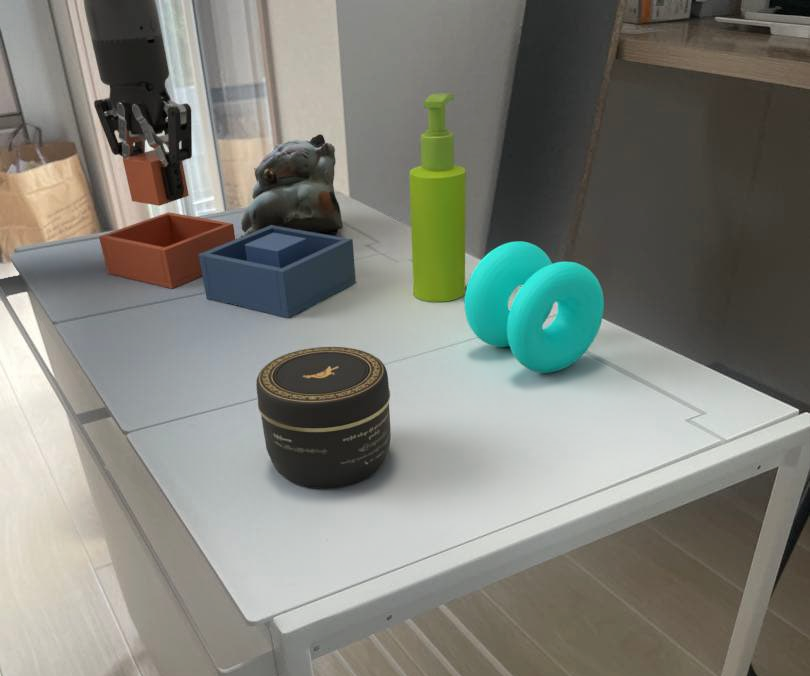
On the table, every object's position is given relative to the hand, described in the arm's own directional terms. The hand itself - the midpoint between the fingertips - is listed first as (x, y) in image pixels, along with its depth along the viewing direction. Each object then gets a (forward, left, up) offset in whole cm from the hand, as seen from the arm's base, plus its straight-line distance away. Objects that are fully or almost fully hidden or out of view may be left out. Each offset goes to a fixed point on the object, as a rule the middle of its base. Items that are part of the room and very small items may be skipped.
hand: (159, 195), depth 101 cm
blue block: (+18, 0, -8) cm, 20 cm away
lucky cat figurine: (+5, +17, -9) cm, 20 cm away
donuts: (+51, -3, -9) cm, 52 cm away
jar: (+46, -28, -9) cm, 55 cm away
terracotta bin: (0, 0, -9) cm, 9 cm away
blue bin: (+18, 0, -9) cm, 20 cm away
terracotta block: (0, 0, 0) cm, 0 cm away
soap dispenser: (+34, +8, -9) cm, 37 cm away
